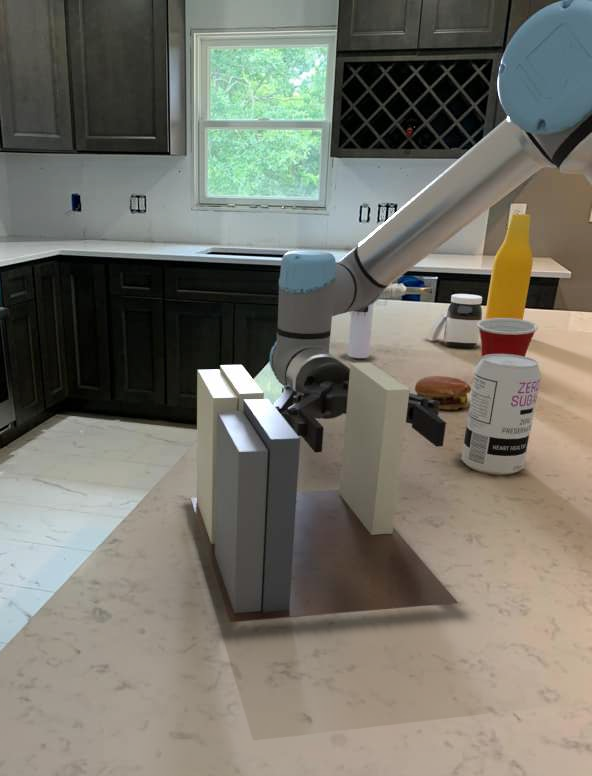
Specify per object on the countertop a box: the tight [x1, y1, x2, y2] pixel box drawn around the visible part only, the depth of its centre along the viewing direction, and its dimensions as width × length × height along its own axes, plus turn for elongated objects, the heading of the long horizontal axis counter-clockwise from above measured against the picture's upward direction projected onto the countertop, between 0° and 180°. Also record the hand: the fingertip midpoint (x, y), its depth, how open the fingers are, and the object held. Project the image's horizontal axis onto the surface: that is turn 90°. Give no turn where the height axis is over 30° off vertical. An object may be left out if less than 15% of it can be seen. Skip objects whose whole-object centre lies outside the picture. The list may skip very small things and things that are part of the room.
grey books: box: [215, 398, 301, 613], centre depth 65 cm, size 5×11×16 cm, turn 10°
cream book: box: [338, 362, 411, 535], centre depth 80 cm, size 2×11×16 cm, turn 11°
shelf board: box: [189, 489, 459, 623], centre depth 76 cm, size 21×26×2 cm
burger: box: [414, 375, 472, 411], centre depth 127 cm, size 10×9×5 cm
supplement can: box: [461, 354, 542, 476], centre depth 98 cm, size 8×8×15 cm
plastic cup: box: [477, 318, 539, 361], centre depth 139 cm, size 11×11×12 cm
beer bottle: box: [483, 213, 534, 320], centre depth 181 cm, size 9×9×29 cm
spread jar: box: [427, 293, 483, 350], centre depth 172 cm, size 12×11×12 cm
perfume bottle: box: [347, 303, 375, 359], centre depth 155 cm, size 6×6×20 cm
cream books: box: [196, 364, 265, 544], centre depth 77 cm, size 5×11×16 cm, turn 10°
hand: (381, 437), depth 77 cm, fingers open, 13 cm apart
